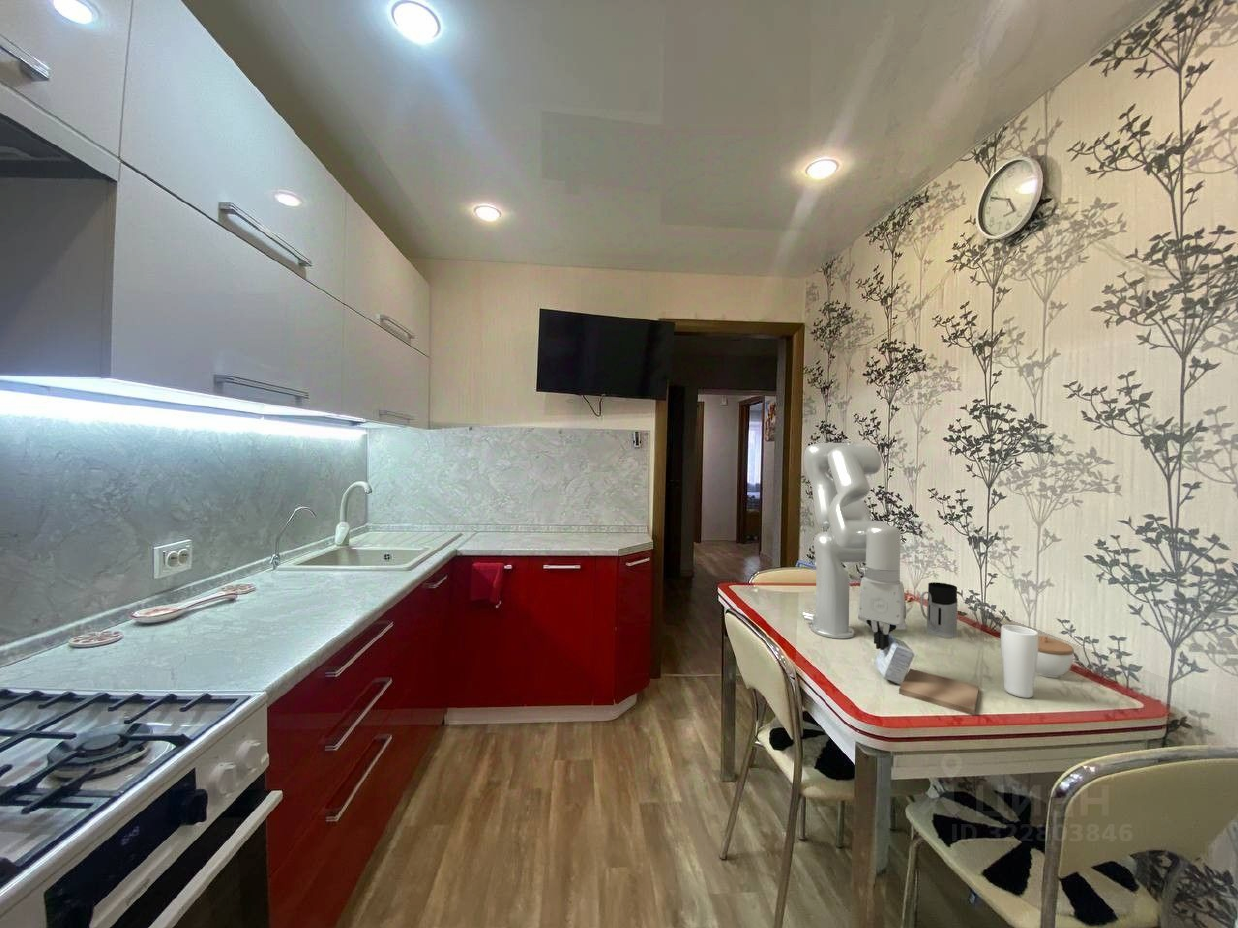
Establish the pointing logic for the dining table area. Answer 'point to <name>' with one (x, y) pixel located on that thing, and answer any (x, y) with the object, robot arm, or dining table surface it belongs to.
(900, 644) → the medicine box
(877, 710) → the dining table surface
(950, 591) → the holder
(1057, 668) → the lidded jar
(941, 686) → the walnut board
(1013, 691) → the white tall cup
